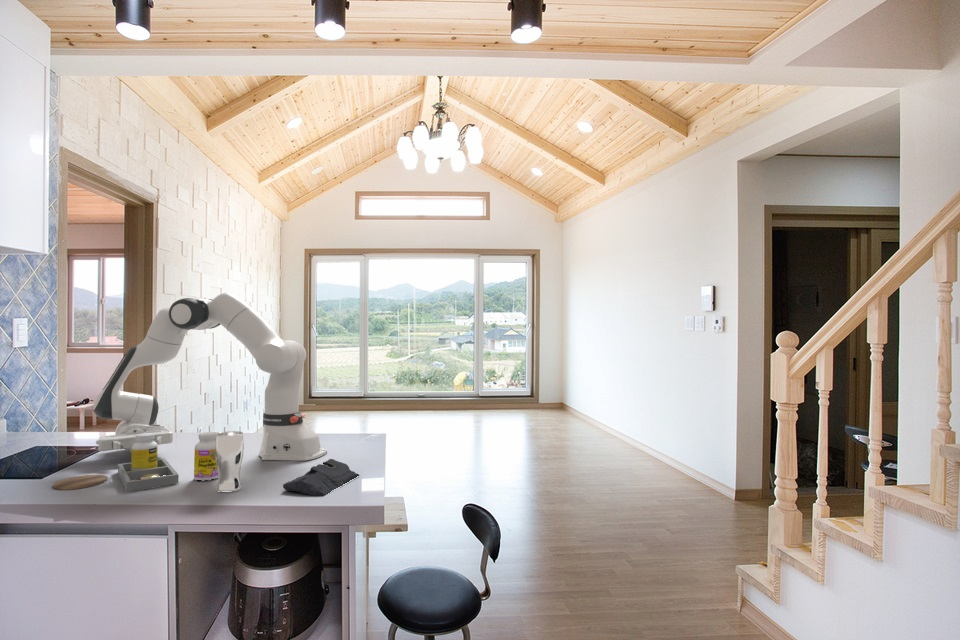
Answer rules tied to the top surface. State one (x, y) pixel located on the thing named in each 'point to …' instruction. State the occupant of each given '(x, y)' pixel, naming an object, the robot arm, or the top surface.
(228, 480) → the shiny silver flared piece
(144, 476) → the gold dome knob
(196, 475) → the supplement bottle
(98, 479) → the walnut coaster
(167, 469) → the parts tray
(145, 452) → the pill bottle
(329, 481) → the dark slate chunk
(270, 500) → the top surface
